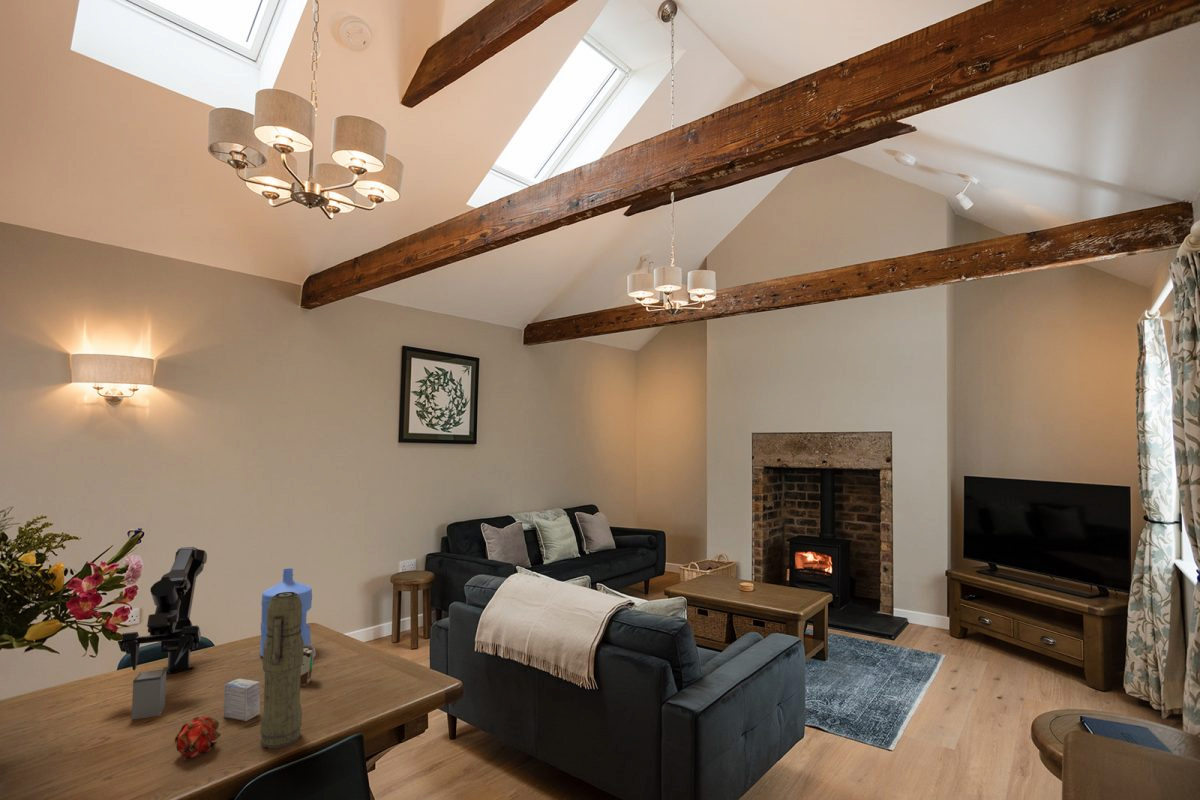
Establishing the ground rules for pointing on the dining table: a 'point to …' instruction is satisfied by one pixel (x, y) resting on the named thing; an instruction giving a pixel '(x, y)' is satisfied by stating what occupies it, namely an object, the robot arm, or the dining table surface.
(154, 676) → the grey bordered box
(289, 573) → the water jug
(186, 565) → the robot arm
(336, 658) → the dining table surface
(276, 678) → the thermos
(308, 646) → the food container
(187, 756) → the dragon fruit
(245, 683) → the medicine box
